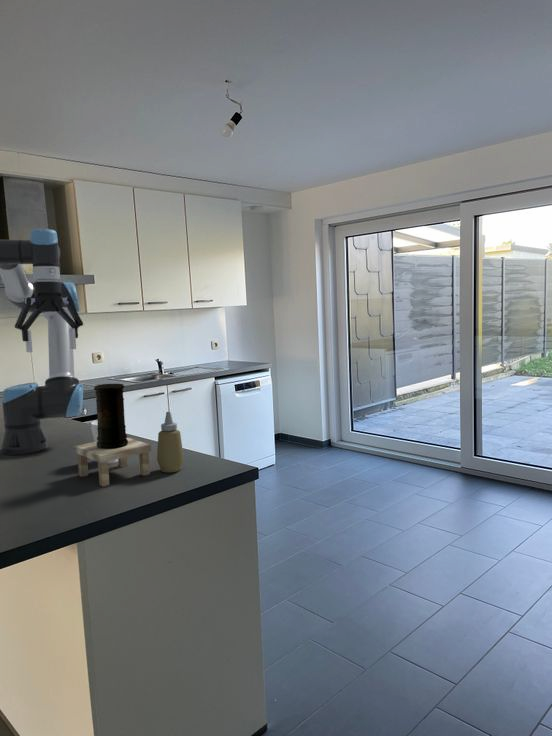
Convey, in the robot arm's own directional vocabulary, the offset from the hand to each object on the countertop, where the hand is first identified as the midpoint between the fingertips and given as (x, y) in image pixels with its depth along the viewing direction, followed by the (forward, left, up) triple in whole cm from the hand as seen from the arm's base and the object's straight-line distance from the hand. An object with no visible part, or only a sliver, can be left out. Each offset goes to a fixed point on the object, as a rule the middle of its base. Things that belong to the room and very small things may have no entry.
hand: (51, 350), depth 171 cm
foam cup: (+7, +13, -37) cm, 40 cm away
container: (+22, +7, -28) cm, 36 cm away
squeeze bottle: (+31, +21, -37) cm, 53 cm away
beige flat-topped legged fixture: (+22, +7, -37) cm, 43 cm away
